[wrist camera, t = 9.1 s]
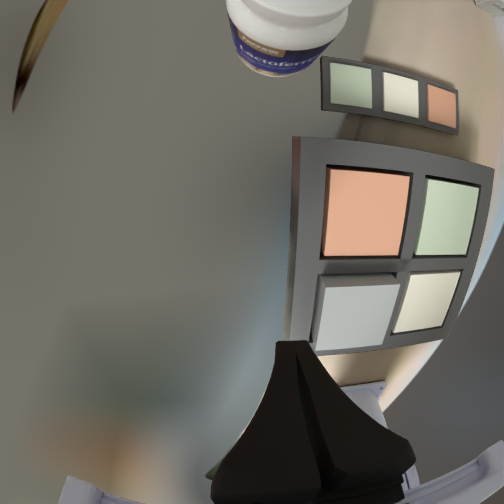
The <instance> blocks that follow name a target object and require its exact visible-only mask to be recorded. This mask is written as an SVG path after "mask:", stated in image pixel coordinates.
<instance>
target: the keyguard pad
mask: <svg viewBox="0 0 504 504" xmlns="http://www.w3.org/2000/svg"><path fill="white" fill-rule="evenodd" d="M326 164H334V165H348V166H360V167H371V168H380V169H389V170H392V171H395V172H397V173H400V174H403V175H406V176H409V177H410V178H409V188H408V196H407V204H406V211H405V218H404V224H403V230H402V236H401V241H400V247H399V252H398V255H363V256H324V254H323V253H322V251H321V249H320V247H321V236H322V224H323V211H324V196H325V177H326ZM291 173H292V174H291V208H290V210H291V211H290V233H289V254H288V273H287V289H286V304H285V318H284V335H285V341H293V340H307V341H308V342H309V344H310V346H311V347H312V349H313V351H314V353H315V354H316V356H324V355H337V354H348V353H358V352H366V351H375V350H382V349H389V348H396V347H403V346H409V345H415V344H420V343H426V342H431V341H436V340H441V339H446V338H448V337H449V335H450V333H451V330H452V328H453V326H454V324H455V321H456V319H457V316H458V314H459V311H460V309H461V306H462V304H463V301H464V298H465V296H466V293H467V290H468V287H469V284H470V281H471V278H472V275H473V272H474V269H475V265H476V262H477V259H478V255H479V251H480V248H481V244H482V240H483V235H484V231H485V226H486V222H487V217H488V211H489V206H490V200H491V193H492V186H493V178H494V169H493V168H490V167H487V166H483V165H480V164H476V163H472V162H469V161H465V160H461V159H457V158H453V157H448V156H444V155H439V154H435V153H430V152H425V151H420V150H414V149H409V148H403V147H397V146H390V145H384V144H376V143H369V142H360V141H351V140H341V139H329V138H315V137H293V136H292V172H291ZM425 175H433V176H439V177H445V178H450V179H455V180H458V181H461V182H464V183H466V184H469V185H472V186H475V187H477V188H479V191H478V198H477V204H476V210H475V216H474V221H473V226H472V230H471V235H470V239H469V243H468V247H467V251H466V254H460V255H415V254H414V253H413V251H414V246H415V241H416V236H417V231H418V226H419V220H420V214H421V207H422V200H423V193H424V184H425ZM453 269H457V270H458V271H460V276H459V279H458V282H457V285H456V288H455V291H454V294H453V297H452V300H451V302H450V305H449V308H448V310H447V313H446V316H445V318H444V321H443V323H442V325H441V326H436V327H430V328H424V329H418V330H411V331H404V332H397V333H393V331H392V327H393V324H394V321H395V318H396V315H397V312H398V309H399V305H400V302H401V298H402V295H403V291H404V288H405V284H406V280H407V276H408V273H409V271H433V270H453ZM381 272H390V273H391V274H392V275H393V276H394V277H395V279H396V280H397V281H398V282H399V283H400V287H399V291H398V295H397V298H396V302H395V305H394V308H393V312H392V315H391V318H390V321H389V325H388V328H387V331H386V334H385V337H384V340H383V342H382V345H373V346H365V347H355V348H345V349H333V350H319V351H315V347H314V343H313V339H312V335H311V331H310V329H311V322H312V315H313V308H314V300H315V292H316V284H317V276H318V274H345V273H381Z"/></svg>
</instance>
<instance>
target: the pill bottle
mask: <svg viewBox="0 0 504 504" xmlns="http://www.w3.org/2000/svg"><path fill="white" fill-rule="evenodd" d="M351 2H352V0H226V7H227V12H228V17H229V22H230V27H231V32H232V37H233V43H234V46H235V50H236V52H237V54H238V56H239V58H240V59H241V60H242V61H243V62H244V64H246V65H247V66H248V67H249V68H251V69H252V70H254V71H256V72H258V73H260V74H263V75H267V76H272V77H286V76H291V75H295V74H297V73H299V72H301V71H303V70H305V69H306V68H307V67H308V66H309V65H310V64H312V62H313V61H314V60H315V59H316V58H317V57H318V56H319V55H320V54H321V53H322V52H323V51H324V50H325V49H326V48H327V47H328V45H329V44H330V43H331V42H332V41H333V40H334V39H335V38H336V37H337V36H338V34H339V33H340V32H341V31H342V29H343V28H344V26H345V24H346V22H347V17H348V6H349V4H350V3H351Z"/></svg>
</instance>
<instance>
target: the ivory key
mask: <svg viewBox="0 0 504 504" xmlns="http://www.w3.org/2000/svg"><path fill="white" fill-rule="evenodd" d="M459 276H460V271H458V270H457V269H453V270H433V271H409V273H408V276H407V280H406V284H405V288H404V291H403V295H402V298H401V302H400V305H399V309H398V312H397V315H396V318H395V321H394V324H393V327H392V331H393V333H397V332H404V331H411V330H418V329H424V328H430V327H436V326H441V325H442V323H443V321H444V318H445V316H446V313H447V310H448V308H449V305H450V302H451V300H452V297H453V294H454V291H455V288H456V285H457V282H458V279H459Z"/></svg>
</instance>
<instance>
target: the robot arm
mask: <svg viewBox="0 0 504 504" xmlns="http://www.w3.org/2000/svg"><path fill="white" fill-rule="evenodd" d="M385 386H386V382H385V381H380V382H374V383H368V384H361V385H354V386H346V387H339V386H338V385H337V383H336V382H335V381H334V380H333V378H332V377H331V376H330V375H329V373H328V372H327V370H326V369H325V368H324V366H323V365H322V363H321V362H320V360H319V359H318V357H317V356H316V354H315V353H314V351H313V349H312V347H311V346H310V344H309V342H308V341H307V340H293V341H278V342H276V349H275V363H274V367H273V371H272V374H271V378H270V381H269V383H268V386H267V389H266V392H265V394H264V396H263V399H262V401H261V403H260V405H259V407H258V409H257V411H256V413H255V415H254V417H253V418H252V420H251V422H250V424H249V425H248V427H247V428H246V430H245V431H244V433H243V434H242V436H241V437H240V439H239V440H238V442H237V443H236V444H235V446H234V447H233V448H232V449H231V451H230V452H229V453H228V454H227V455H226V457H225V458H224V459H223V460H222V462H221V464H220V466H219V468H218V470H217V472H216V474H215V476H214V478H213V481H212V485H211V499H212V501H213V502H214V504H479V503H481V502H482V501H484V500H485V499H486V498H488V497H489V496H490V495H492V494H493V493H495V492H496V491H497V490H499V489H500V488H501V487H503V486H504V443H503V441H502V440H500V441H499V442H497V443H496V444H494V445H493V446H491V447H489V448H488V449H486V450H485V451H484V452H483V453H482V454H480V455H479V456H478V457H477V458H476V459H475V460H473V461H471V462H469V463H467V464H465V465H464V466H462V467H460V468H458V469H456V470H454V471H452V472H450V473H448V474H446V475H443V476H441V477H439V478H437V479H434V480H432V481H430V482H427V483H425V484H422V485H420V483H419V478H418V475H417V471H416V468H415V465H414V463H415V461H416V457H415V454H414V452H413V449H412V447H411V445H410V443H409V441H408V440H407V439H405V438H403V437H401V436H399V435H397V434H395V433H394V432H392V431H390V430H388V428H387V425H386V422H385V419H384V416H383V414H382V411H381V408H380V405H379V402H378V400H379V398H380V396H381V394H382V392H383V390H384V388H385ZM58 504H144V503H139V502H136V501H132V500H129V499H125V498H122V497H118V496H115V495H112V494H109V493H106V492H103V491H102V490H101V489H100V488H98V487H97V486H95V485H93V484H91V483H88V482H86V481H83V480H81V479H78V478H75V477H73V476H71V475H68V476H67V479H66V482H65V485H64V488H63V491H62V494H61V497H60V500H59V503H58Z"/></svg>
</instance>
